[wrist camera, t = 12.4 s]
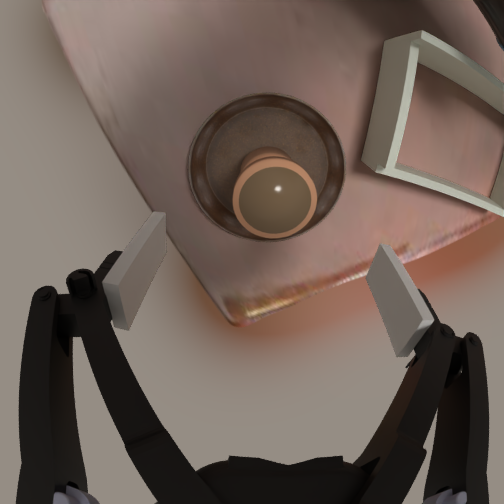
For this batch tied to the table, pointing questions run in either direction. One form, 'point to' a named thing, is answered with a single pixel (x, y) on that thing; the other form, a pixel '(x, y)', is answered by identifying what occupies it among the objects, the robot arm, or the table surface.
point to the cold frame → (398, 102)
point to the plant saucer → (261, 135)
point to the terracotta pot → (273, 194)
